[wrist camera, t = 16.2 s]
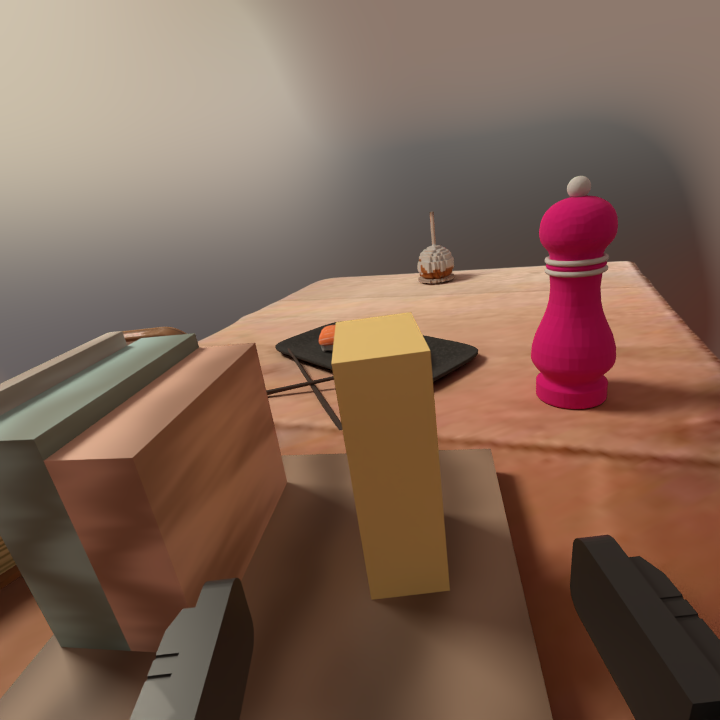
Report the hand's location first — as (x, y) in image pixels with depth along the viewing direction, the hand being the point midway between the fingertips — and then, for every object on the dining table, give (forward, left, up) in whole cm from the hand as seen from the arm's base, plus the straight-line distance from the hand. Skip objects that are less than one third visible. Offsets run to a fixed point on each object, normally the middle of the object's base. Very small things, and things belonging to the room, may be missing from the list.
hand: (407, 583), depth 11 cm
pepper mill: (+13, +33, -13) cm, 38 cm away
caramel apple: (+1, +92, -13) cm, 93 cm away
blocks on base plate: (-8, +11, -12) cm, 19 cm away
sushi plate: (-14, +43, -13) cm, 47 cm away
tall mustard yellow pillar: (-2, +11, -10) cm, 16 cm away
